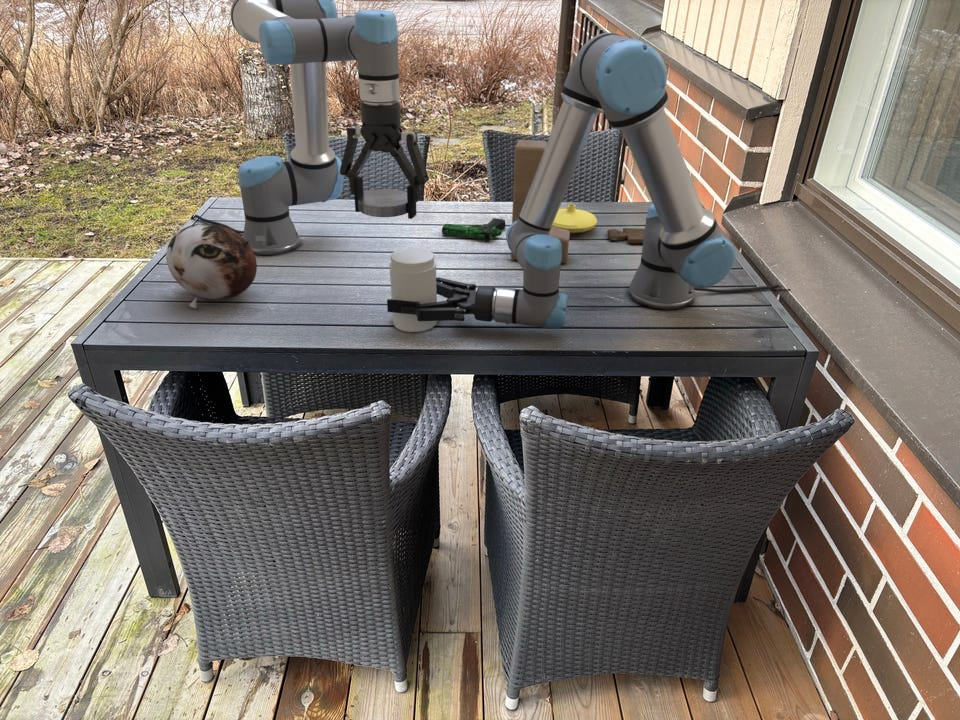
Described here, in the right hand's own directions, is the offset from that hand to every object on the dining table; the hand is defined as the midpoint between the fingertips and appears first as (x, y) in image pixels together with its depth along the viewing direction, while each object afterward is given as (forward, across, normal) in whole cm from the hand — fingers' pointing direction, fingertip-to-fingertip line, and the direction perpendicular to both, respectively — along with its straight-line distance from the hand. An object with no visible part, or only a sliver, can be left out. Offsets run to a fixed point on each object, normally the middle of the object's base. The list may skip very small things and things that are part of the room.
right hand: (395, 295), depth 157 cm
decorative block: (-27, +43, -6) cm, 51 cm away
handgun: (-7, +58, -6) cm, 58 cm away
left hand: (+1, -1, +19) cm, 19 cm away
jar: (-4, 0, -6) cm, 7 cm away
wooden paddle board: (-58, +64, -6) cm, 86 cm away
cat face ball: (+44, +2, -6) cm, 45 cm away
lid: (+1, -1, +22) cm, 22 cm away
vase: (-33, +66, -6) cm, 74 cm away
